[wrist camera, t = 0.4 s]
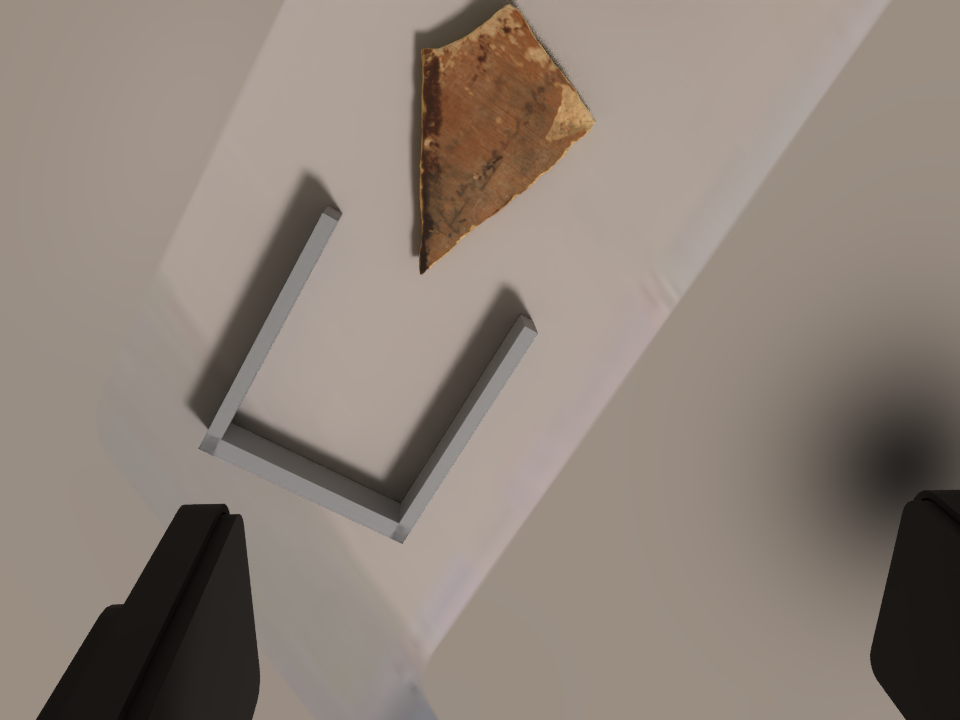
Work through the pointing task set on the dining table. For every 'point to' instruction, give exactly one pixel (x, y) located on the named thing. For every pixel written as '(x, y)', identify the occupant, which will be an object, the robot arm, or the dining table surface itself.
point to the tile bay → (321, 481)
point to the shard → (489, 127)
